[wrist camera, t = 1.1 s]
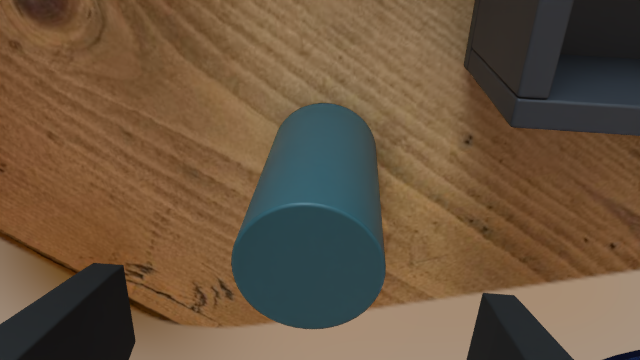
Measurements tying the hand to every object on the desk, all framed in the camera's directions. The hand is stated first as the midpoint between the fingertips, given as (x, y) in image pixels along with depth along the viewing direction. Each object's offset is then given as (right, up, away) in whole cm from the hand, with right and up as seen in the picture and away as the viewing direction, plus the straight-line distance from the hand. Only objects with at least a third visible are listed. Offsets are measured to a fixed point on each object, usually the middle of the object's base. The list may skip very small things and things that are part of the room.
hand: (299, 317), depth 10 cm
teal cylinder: (+1, +4, +8) cm, 9 cm away
